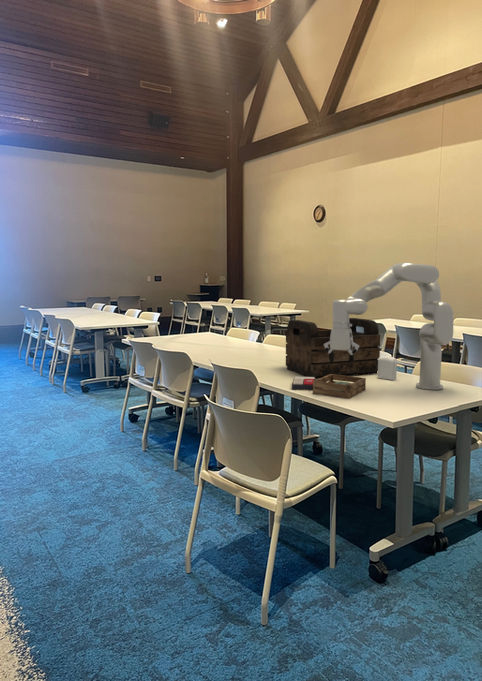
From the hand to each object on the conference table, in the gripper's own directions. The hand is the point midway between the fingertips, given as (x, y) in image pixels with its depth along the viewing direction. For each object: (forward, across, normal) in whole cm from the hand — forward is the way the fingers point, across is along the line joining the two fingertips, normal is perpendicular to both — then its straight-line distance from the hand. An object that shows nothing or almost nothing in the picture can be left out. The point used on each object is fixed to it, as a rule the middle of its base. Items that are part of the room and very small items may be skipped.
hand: (341, 362), depth 225 cm
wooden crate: (+15, +26, -45) cm, 54 cm away
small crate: (+13, +1, +1) cm, 13 cm away
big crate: (+14, +1, +1) cm, 14 cm away
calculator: (+14, +20, 0) cm, 25 cm away
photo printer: (+16, -8, -41) cm, 45 cm away
